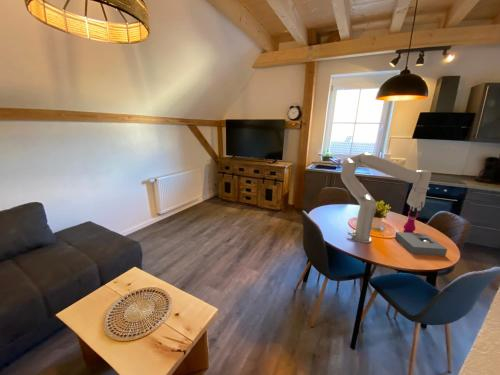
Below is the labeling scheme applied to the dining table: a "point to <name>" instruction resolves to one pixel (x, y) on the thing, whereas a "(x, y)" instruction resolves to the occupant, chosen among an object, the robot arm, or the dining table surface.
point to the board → (420, 244)
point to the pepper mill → (410, 224)
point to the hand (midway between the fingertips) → (412, 216)
